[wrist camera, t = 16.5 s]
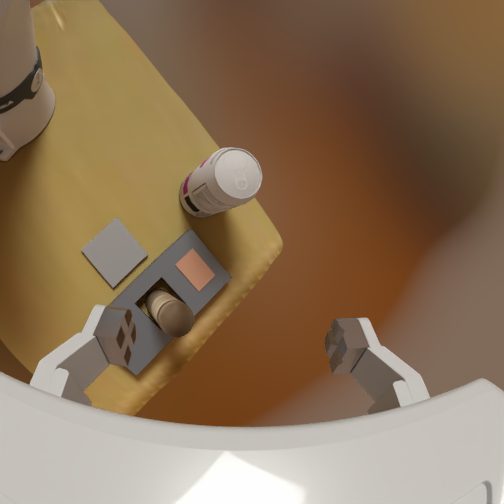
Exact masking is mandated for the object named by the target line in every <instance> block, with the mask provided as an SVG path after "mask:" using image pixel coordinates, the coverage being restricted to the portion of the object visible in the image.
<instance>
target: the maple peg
mask: <svg viewBox="0 0 504 504" xmlns="http://www.w3.org/2000/svg"><path fill="white" fill-rule="evenodd" d="M145 303H146V307H147V309H148V310H149V312H150V313H151V315H152V316H153V317H154V319H155V320H156V321H157V323H158V324H159V326H160V327H161V329H162V330H163V331H164V332H165V333H166V334H167V335H169V336H172V337H181V336H184V335H186V334H187V333H188V332H189V331H190V330H191V329H192V327H193V324H194V314H193V311H192V310H191V308H190V307H189V306H188V305H186V304H185V303H183V302H181V301H179V300H178V299H176V298H175V297H173V296H171V295H170V294H168V293H167V292H165V291H164V290H161V289H155V290H152V291H151V292H149V294H148V295H147V297H146V301H145Z"/></svg>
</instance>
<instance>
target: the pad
mask: <svg viewBox="0 0 504 504" xmlns="http://www.w3.org/2000/svg"><path fill="white" fill-rule="evenodd" d="M82 252H83V253H84V254H85V255H86V257H87V258H88V259H89V260H90V261H91V263H92V264H93V265H94V266H95V268H96V269H97V270H98V271H99V272H100V273H101V275H102V276H103V277H104V278H105V279H106V280H107V282H108V283H109V284H110V285H111V286H112V287H113V288H114V287H115V286H116V285H117V284H118V283H119V282H120V281H121V280H122V279H123V278H124V277H125V276H126V275H127V274H128V273H129V272H130V271H131V270H132V269H133V268H134V267H135V266H136V265H137V264H138V263H139V262H140V261H141V260H142V259H144V258H145V257H146V256H147V255H148V254H147V253H146V252H145V250H144V249H143V248H142V247H141V246H140V244H139V243H138V242H137V241H136V240H135V238H134V237H133V236H132V235H131V233H130V232H129V231H128V230H127V228H126V227H125V226H124V225H123V223H122V222H121V221H120V220H119V218H118V217H116V218H115V219H114V220H113V221H112V222H111V223H110V224H109V225H107V226H106V227H105V228H104V229H103V230H102V231H101V232H100V233H99V234H98V235H96V236H95V237H94V238H93V239H92V240H91V241H90V242H89V243H88V244H87V245H86V246H85V247H84V248H83V249H82Z"/></svg>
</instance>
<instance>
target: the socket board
mask: <svg viewBox="0 0 504 504" xmlns="http://www.w3.org/2000/svg"><path fill="white" fill-rule="evenodd" d="M160 278H162V280H163V281H164V282H165V283H166V284H167V285H168V286H169V287H170V288H171V290H172V291H173V292H174V293H175V294H176V295H177V296H178V297H179V298H180V299H181V300H182V301H183V303H185V304H186V305H188V306H189V307H190V308H191V310H192V311H193V314H194V316H195V315H196V314H197V313H198V312H199V311H200V310H201V309H202V308H203V307H204V306H205V305H206V304H207V303H208V302H209V301H210V300H211V299H212V298H213V297H214V295H215V294H216V293H217V292H218V291H219V290H220V289H221V288H222V287H223V286H224V285H225V284H226V283H227V282H228V281H229V280H230V279H231V278H232V277H231V276H230V275H229V274H228V273H227V271H226V270H225V269H224V268H223V267H222V265H221V264H220V263H219V262H218V260H217V259H216V258H215V257H214V256H213V254H212V253H211V252H210V251H209V250H208V248H207V247H206V246H205V245H204V243H203V242H202V241H201V240H200V239H199V237H198V236H197V235H196V234H195V232H194V231H193V230H192V229H190V230H187V231H186V232H185V233H184V234H183V235H182V236H180V237H179V238H178V239H177V240H176V241H175V242H174V243H173V244H172V245H171V246H169V247H168V248H167V249H166V250H165V251H164V252H163V253H162V254H161V255H160V256H159V257H158V258H156V259H155V260H154V261H153V262H152V263H151V264H150V265H149V266H148V267H147V268H146V269H145V270H144V271H143V272H142V273H141V274H140V275H139V276H138V277H137V278H136V279H134V280H133V281H132V282H131V283H130V284H129V285H128V286H127V287H126V288H125V289H124V290H123V291H122V292H121V293H120V294H119V295H118V296H117V297H116V298H115V299H114V300H113V301H112V302H111V303H110V304H109V305H108V306H111V307H118V308H124V309H129V310H131V313H132V318H131V321H133V322H134V323H135V327H136V340H135V343H134V346H132V347H131V348H130V351H131V357H130V361H129V364H128V367H126V366H125V367H126V368H127V369H129V370H130V371H131V372H132V373H133V374H135V375H136V376H137V375H138V374H139V373H140V372H141V371H142V370H143V369H144V368H145V367H146V366H147V365H148V363H149V362H150V361H151V360H152V359H153V358H154V357H155V356H156V355H157V354H158V353H159V352H160V351H161V350H162V349H163V348H164V347H165V346H166V345H167V344H168V343H169V342H170V341H171V340H172V339H173V338H174V337H172V336H169V335H167V334H166V333H165V332H164V331H163V330H162V329H161V327H160V326H159V327H158V326H157V325H156V324H155V323H154V322H153V321H152V320H151V319H150V318H149V317H148V316H147V315H146V314H145V313H144V312H143V311H142V310H141V309H140V308H139V307H138V306H137V305H136V304H135V303H136V302H137V301H138V300H139V299H140V298H141V297H142V296H143V295H144V294H145V293H146V292H147V291H148V290H149V289H150V288H151V287H152V286H153V285H154V284H155V283H156V282H157V281H158V280H159V279H160Z"/></svg>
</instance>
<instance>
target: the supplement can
mask: <svg viewBox="0 0 504 504" xmlns="http://www.w3.org/2000/svg"><path fill="white" fill-rule="evenodd" d="M261 181H262V172H261V168H260V165H259V163H258V161H257V160H256V159H255V158H254V156H253V155H252V154H250V153H249V152H247V151H246V150H243V149H239V148H232V147H231V148H222V149H220V150H218V151H216V152H215V153H213V154H212V155H211V156H210V157H209V158H207V159H206V160H205V161H204V162H203V163H202V164H201V165H200V166H198V167H197V168H196V169H195V170H194V171H193V172H192V173H191V174H190V175H189V176H187V177H186V179H185V180H184V181H183V182H182V184H181V187H180V191H179V194H180V201H181V203H182V206H183V207H184V209H185V210H186V211H187V212H188V213H189V214H191V215H193V216H195V217H201V218H205V217H209V216H212V215H215V214H218V213H220V212H223V211H226V210H229V209H232V208H234V207H237V206H240V205H243V204H246V203H247V202H249V201H250V200H251V199H253V198H254V196H255V194H256V193H257V192H258V189H259V187H260V186H261Z"/></svg>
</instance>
